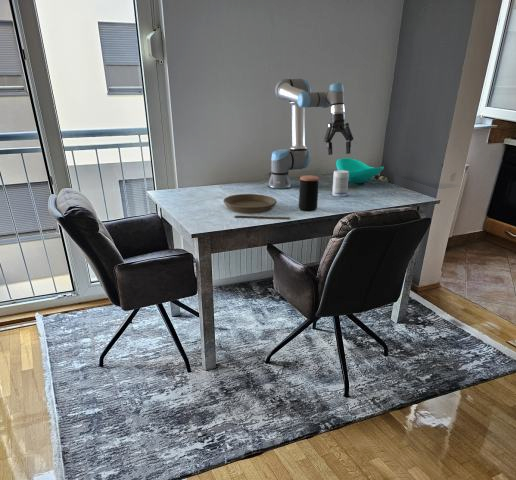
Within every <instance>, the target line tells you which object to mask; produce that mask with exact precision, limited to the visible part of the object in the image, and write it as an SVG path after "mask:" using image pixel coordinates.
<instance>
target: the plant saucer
mask: <svg viewBox="0 0 516 480" xmlns="http://www.w3.org/2000/svg"><path fill="white" fill-rule="evenodd" d="M223 204H224V206H226V207H227V209H228V210H229V211H232V212H235V213H239V214H261V213H266V212H269V211H271V210H272V209H273V208H274V207H275V205H276V204H277V199H276V198H274V197H272V196H270V195H265V194H256V193H242V194H241V193H239V194H234V195H229V196H227V197H225V198H223Z"/></svg>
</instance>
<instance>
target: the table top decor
mask: <svg viewBox="0 0 516 480" xmlns="http://www.w3.org/2000/svg"><path fill="white" fill-rule="evenodd" d="M335 164H336V170H345V171H348V172H349V178H348V182H350V183H352V184H364V183H366V182H368V181H369V180H371V179H373V178H374V177H376V176H377V175H378V174H380V173H381V172H382V171H383V170H384V166H380V167H373V166H369V165H367V164H366V163H365V162H363V161H360V160H358V159H354V158H349V157H347V158H346V157H343V158H338V159H337V160H336V162H335Z"/></svg>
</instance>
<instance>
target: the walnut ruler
mask: <svg viewBox="0 0 516 480" xmlns="http://www.w3.org/2000/svg"><path fill="white" fill-rule="evenodd" d="M234 218H236V219H266V220H290V217H289V216H288V217H287V216H259V215H258V216H257V215H235V216H234Z"/></svg>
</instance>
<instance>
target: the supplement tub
mask: <svg viewBox="0 0 516 480" xmlns="http://www.w3.org/2000/svg"><path fill="white" fill-rule="evenodd" d="M332 176H333V177H332V191H331V194H332V196H334V197H339V198H342V197H343V198H344V197H346V196H347V195H348V188H349V181H348V178H349V172H348V171H345V170H338V169H336V170H333V175H332Z"/></svg>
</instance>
